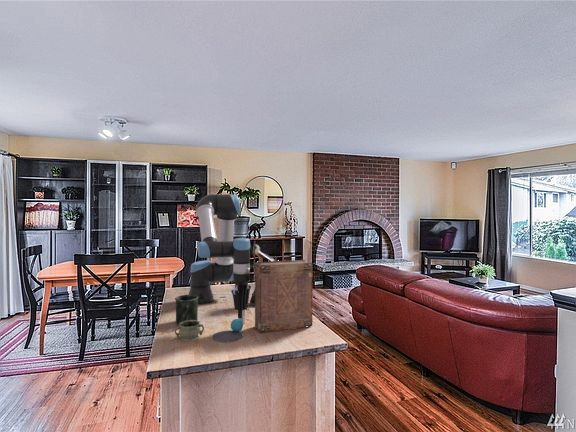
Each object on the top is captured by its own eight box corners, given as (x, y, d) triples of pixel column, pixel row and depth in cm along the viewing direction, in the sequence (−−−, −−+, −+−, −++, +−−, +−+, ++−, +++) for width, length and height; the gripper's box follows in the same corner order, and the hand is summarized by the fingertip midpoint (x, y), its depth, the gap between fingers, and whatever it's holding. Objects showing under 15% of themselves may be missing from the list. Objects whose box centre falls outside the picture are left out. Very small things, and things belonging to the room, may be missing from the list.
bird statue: (275, 299, 205) (276, 242, 205) (279, 305, 193) (279, 244, 192) (248, 301, 202) (248, 242, 202) (249, 307, 190) (250, 244, 189)
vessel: (203, 332, 150) (203, 318, 150) (205, 340, 141) (205, 325, 141) (174, 335, 146) (174, 321, 146) (174, 343, 137) (174, 328, 137)
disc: (205, 338, 142) (205, 338, 142) (224, 329, 154) (224, 328, 154) (231, 344, 137) (231, 343, 137) (248, 333, 148) (248, 333, 148)
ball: (235, 318, 155) (233, 331, 154) (229, 317, 151) (227, 330, 149) (246, 320, 153) (244, 332, 152) (240, 319, 149) (238, 332, 147)
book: (304, 320, 167) (305, 259, 167) (312, 326, 159) (313, 262, 158) (254, 326, 158) (255, 262, 157) (260, 333, 149) (261, 265, 149)
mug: (199, 318, 170) (199, 294, 170) (197, 327, 155) (197, 301, 155) (176, 319, 168) (176, 295, 167) (172, 329, 153) (172, 302, 153)
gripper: (240, 275, 147) (240, 329, 147) (256, 270, 159) (255, 321, 159) (226, 274, 150) (226, 327, 150) (242, 269, 162) (242, 319, 162)
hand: (241, 324), depth 155 cm, fingers closed
